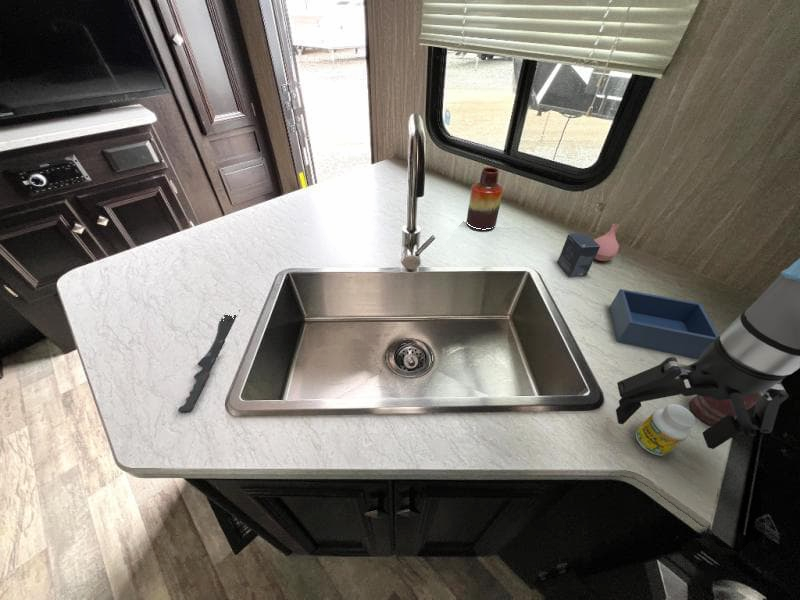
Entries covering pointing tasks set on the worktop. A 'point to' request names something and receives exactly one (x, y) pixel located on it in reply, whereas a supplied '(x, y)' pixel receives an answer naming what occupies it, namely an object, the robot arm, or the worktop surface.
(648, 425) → the supplement bottle
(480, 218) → the vase
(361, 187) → the worktop surface
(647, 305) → the box
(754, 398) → the can
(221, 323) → the knife
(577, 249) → the box
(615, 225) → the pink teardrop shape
